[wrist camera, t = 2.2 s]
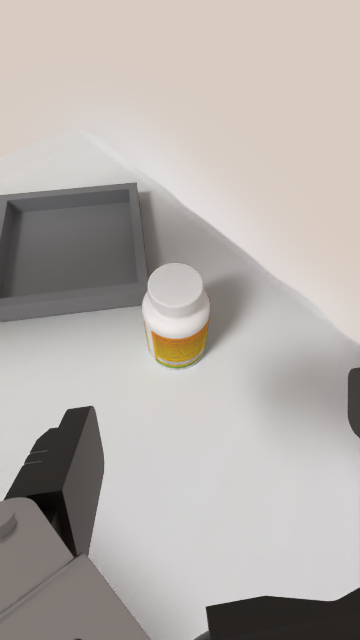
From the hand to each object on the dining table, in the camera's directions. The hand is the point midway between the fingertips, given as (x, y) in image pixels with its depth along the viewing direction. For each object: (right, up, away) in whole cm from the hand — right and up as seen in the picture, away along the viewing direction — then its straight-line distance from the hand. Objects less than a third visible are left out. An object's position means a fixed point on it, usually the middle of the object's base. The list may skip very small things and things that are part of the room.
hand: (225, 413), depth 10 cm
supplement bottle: (-2, 0, +22) cm, 22 cm away
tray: (-13, +10, +28) cm, 32 cm away
